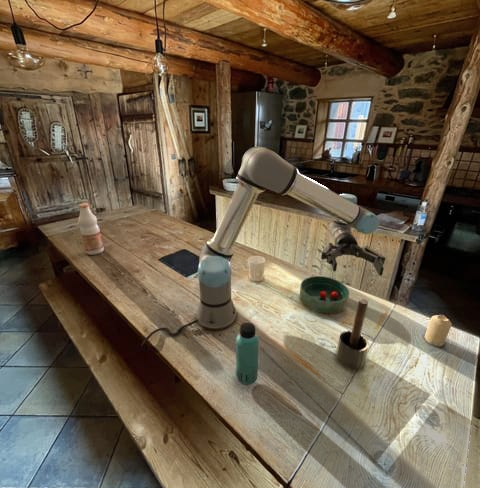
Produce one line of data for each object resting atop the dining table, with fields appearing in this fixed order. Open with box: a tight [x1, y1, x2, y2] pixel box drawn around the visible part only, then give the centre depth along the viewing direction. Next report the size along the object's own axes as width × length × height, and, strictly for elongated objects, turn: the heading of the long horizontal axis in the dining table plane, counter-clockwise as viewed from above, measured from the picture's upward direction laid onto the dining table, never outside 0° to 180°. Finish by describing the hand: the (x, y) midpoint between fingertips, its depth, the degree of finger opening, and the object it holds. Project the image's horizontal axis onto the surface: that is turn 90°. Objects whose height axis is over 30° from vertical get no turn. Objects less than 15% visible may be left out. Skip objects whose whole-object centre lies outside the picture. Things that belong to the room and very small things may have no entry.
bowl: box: [299, 275, 350, 315], centre depth 111 cm, size 19×19×6 cm
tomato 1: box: [320, 291, 327, 299], centre depth 112 cm, size 3×3×3 cm
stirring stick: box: [349, 298, 369, 349], centre depth 79 cm, size 2×2×22 cm
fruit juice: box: [77, 202, 105, 256], centre depth 148 cm, size 9×9×28 cm
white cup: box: [247, 255, 266, 282], centre depth 126 cm, size 8×8×10 cm
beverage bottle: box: [235, 322, 260, 386], centre depth 73 cm, size 6×7×20 cm
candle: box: [424, 314, 453, 347], centre depth 90 cm, size 6×6×10 cm
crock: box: [335, 330, 370, 370], centre depth 83 cm, size 8×8×8 cm
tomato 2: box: [331, 292, 338, 299], centre depth 112 cm, size 3×3×3 cm
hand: (358, 269), depth 82 cm, fingers open, 13 cm apart
